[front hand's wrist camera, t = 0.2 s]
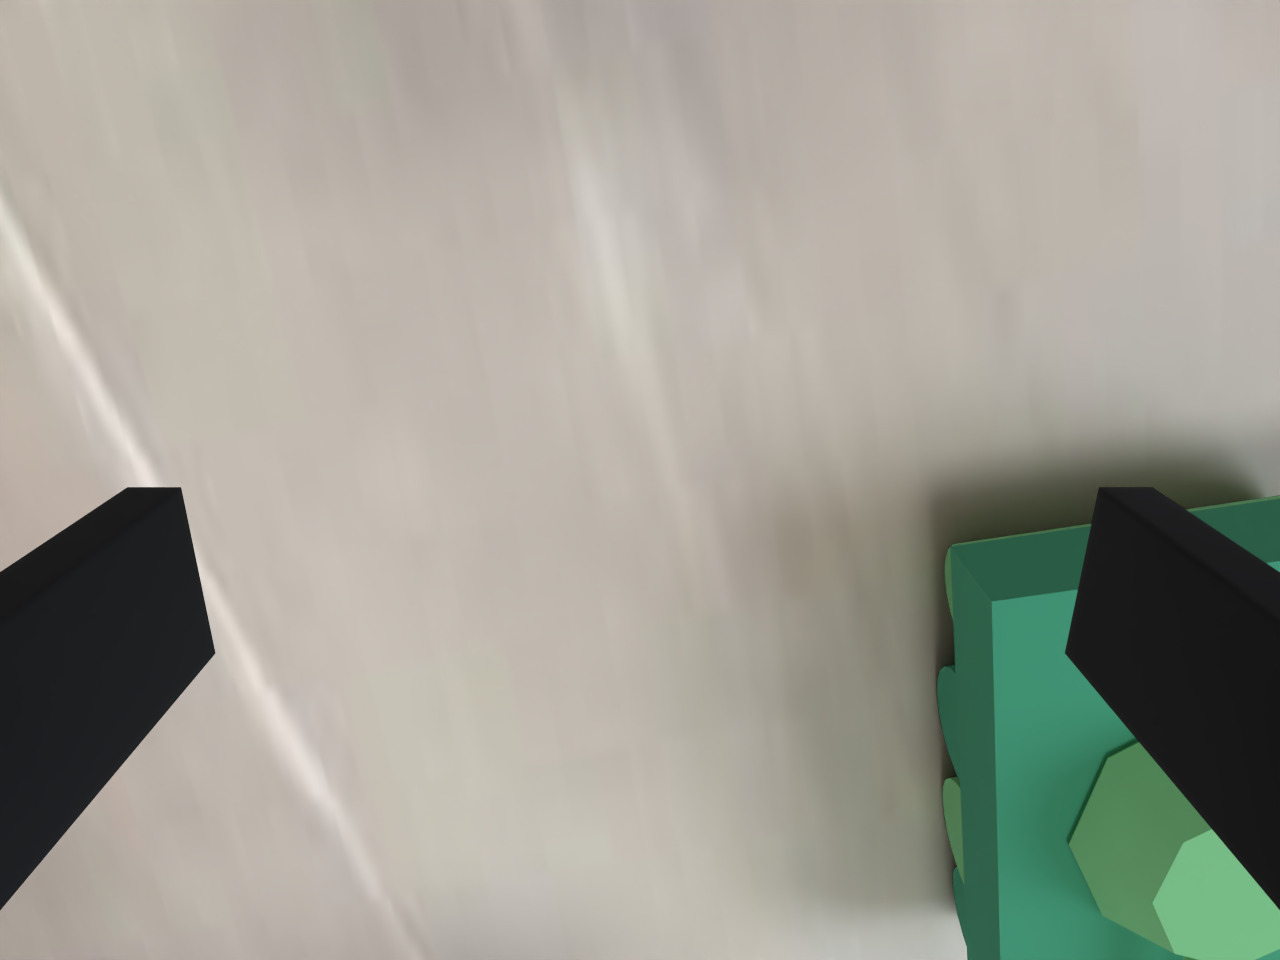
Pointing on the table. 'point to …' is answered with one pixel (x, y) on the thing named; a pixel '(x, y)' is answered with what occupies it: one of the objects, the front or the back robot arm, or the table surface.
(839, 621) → the table surface
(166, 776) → the table surface
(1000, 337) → the table surface
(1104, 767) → the green tank
